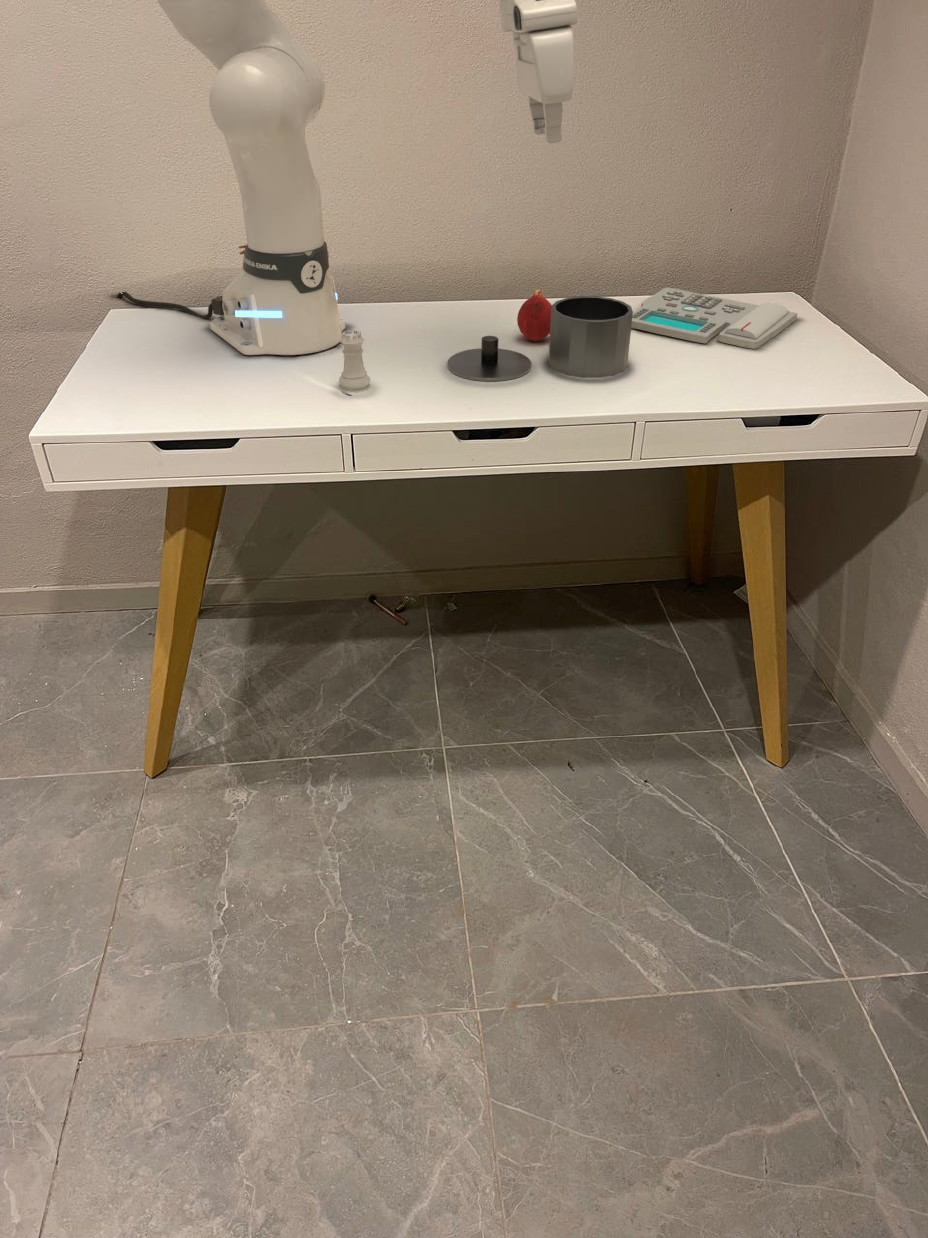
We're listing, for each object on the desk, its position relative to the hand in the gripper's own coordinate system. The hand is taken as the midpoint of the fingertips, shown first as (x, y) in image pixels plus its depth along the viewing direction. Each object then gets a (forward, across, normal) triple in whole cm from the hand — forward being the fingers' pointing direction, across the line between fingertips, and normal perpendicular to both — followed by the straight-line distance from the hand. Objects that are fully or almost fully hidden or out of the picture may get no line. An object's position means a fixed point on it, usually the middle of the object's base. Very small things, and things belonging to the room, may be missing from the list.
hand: (547, 137), depth 122 cm
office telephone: (+33, -19, +27) cm, 46 cm away
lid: (+28, -1, -11) cm, 30 cm away
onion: (+30, -12, -2) cm, 32 cm away
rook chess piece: (+27, +5, -30) cm, 40 cm away
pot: (+31, -1, +4) cm, 31 cm away
